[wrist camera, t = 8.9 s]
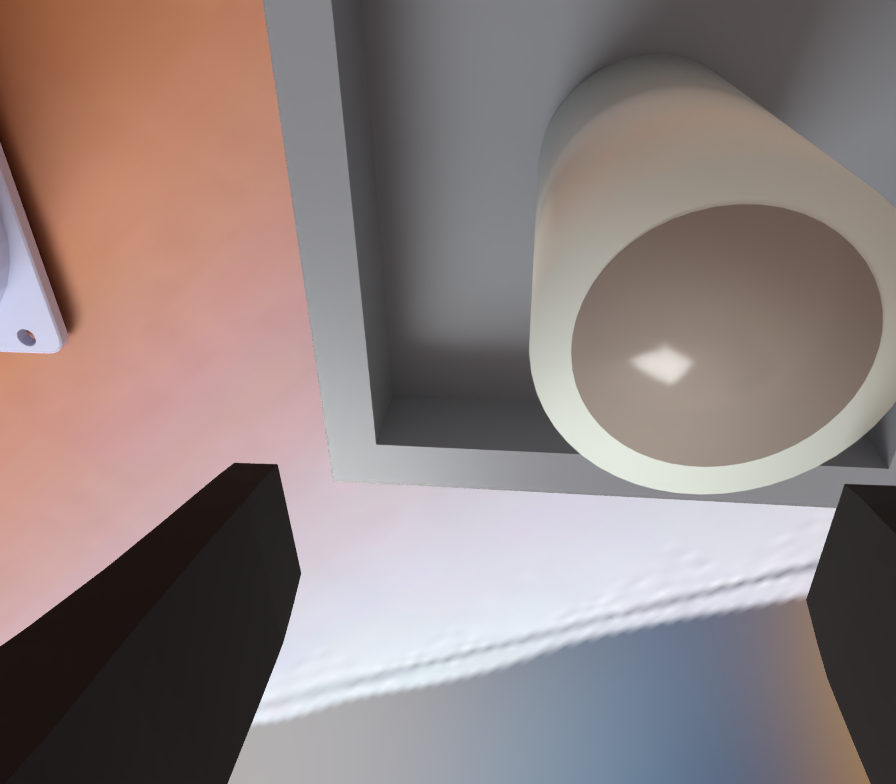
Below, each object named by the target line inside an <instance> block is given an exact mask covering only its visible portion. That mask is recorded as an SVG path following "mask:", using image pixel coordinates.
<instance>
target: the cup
mask: <svg viewBox="0 0 896 784" xmlns="http://www.w3.org/2000/svg"><path fill="white" fill-rule="evenodd" d="M529 357H530V366H531V374H532V378H533V381H534V385H535V389H536V392H537V395H538V397H539V399H540V402H541V404H542V406H543V409H544V411H545V412H546V414H547V416H548V417H549V419H550V420H551V422H552V424H553V425H554V427H555V428H556V429H557V430H558V432H559V433H560V434H561V435H562V436H563V438H564V439H565V440H566V441H567V442H568V443H569V444H570V445H571V446H572V447H573V448H574V449H575V450H576V451H578V452H579V453H580V454H581V455H582V456H583V457H585V458H586V459H588V460H589V461H591V462H592V463H593V464H595V465H596V466H598V467H599V468H601V469H603V470H605V471H607V472H609V473H611V474H613V475H615V476H616V477H619V478H621V479H624V480H627V481H629V482H632V483H634V484H637V485H641V486H645V487H648V488H652V489H656V490H662V491H668V492H674V493H684V494H724V493H732V492H739V491H747V490H751V489H755V488H760V487H764V486H768V485H772V484H775V483H778V482H781V481H784V480H787V479H790V478H793V477H795V476H797V475H799V474H802V473H804V472H806V471H809V470H811V469H813V468H815V467H817V466H819V465H821V464H822V463H824V462H826V461H828V460H829V459H831V458H833V457H835V456H837V455H838V454H839V453H841V452H842V451H844V450H845V449H846V448H848V447H849V446H851V445H852V444H854V443H855V442H856V441H858V440H859V439H860V438H861V437H862V436H863V435H864V434H866V433H867V432H868V431H869V430H870V429H871V428H873V427H874V426H875V425H876V424H877V423H878V422H879V420H880V419H881V418H882V417H883V416H884V415H885V414H886V413H887V412H888V411H889V410H890V409H891V407H892V406H893V405H894V403H895V402H896V208H895V207H893V206H892V205H891V204H890V203H889V202H888V201H887V200H886V199H885V198H884V197H883V196H882V195H881V194H880V193H878V192H877V191H876V190H874V189H873V188H872V187H870V186H869V185H868V184H866V183H865V182H863V181H862V180H861V179H859V178H858V177H857V176H855V175H854V174H853V173H851V172H850V171H849V170H847V169H846V168H845V167H843V166H842V165H840V164H839V163H838V162H836V161H835V160H834V159H832V158H831V157H830V156H828V155H827V154H826V153H824V152H823V151H821V150H820V149H819V148H817V147H816V146H815V145H813V144H812V143H811V142H809V141H808V140H807V139H805V138H804V137H803V136H801V135H800V134H798V133H797V132H796V131H794V130H793V129H792V128H790V127H789V126H788V125H786V124H785V123H784V122H782V121H781V120H779V119H778V118H777V117H775V116H774V115H773V114H771V113H770V112H769V111H767V110H766V109H765V108H763V107H762V106H761V105H759V104H758V103H756V102H755V101H754V100H752V99H751V98H750V97H748V96H747V95H746V94H744V93H743V92H742V91H740V90H739V89H737V88H736V87H735V86H733V85H732V84H731V83H729V82H728V81H727V80H725V79H724V78H723V77H721V76H720V75H719V74H717V73H716V72H714V71H713V70H711V69H710V68H708V67H707V66H705V65H703V64H700V63H698V62H696V61H694V60H691V59H688V58H684V57H681V56H676V55H668V54H646V55H639V56H633V57H630V58H626V59H623V60H619V61H617V62H615V63H612V64H610V65H608V66H605V67H604V68H602V69H600V70H598V71H597V72H595V73H593V74H592V75H590V76H589V77H588V78H587V79H585V80H584V81H583V82H581V83H580V84H579V85H578V86H577V87H576V88H575V89H574V90H573V91H572V92H571V93H570V94H569V95H568V96H567V97H566V99H565V100H564V101H563V102H562V104H561V105H560V106H559V107H558V109H557V111H556V112H555V114H554V116H553V117H552V119H551V121H550V123H549V125H548V128H547V130H546V132H545V135H544V138H543V141H542V145H541V149H540V155H539V160H538V180H537V200H536V220H535V240H534V260H533V280H532V300H531V320H530V342H529Z"/></svg>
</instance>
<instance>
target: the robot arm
mask: <svg viewBox="0 0 896 784" xmlns="http://www.w3.org/2000/svg"><path fill="white" fill-rule="evenodd" d="M26 330H28V331H30V332H31V333H32V334H33V335H34V336H35V338H36V339H34V338H32V337H31V336H30V335H29V334H28V333H27V331H26ZM67 342H68V333H67V330H66V327H65V324H64V322H63V319H62V316H61V313H60V310H59V307H58V305H57V302H56V299H55V296H54V293H53V290H52V288H51V285H50V282H49V279H48V276H47V273H46V271H45V268H44V265H43V262H42V259H41V256H40V254H39V251H38V248H37V245H36V242H35V239H34V237H33V234H32V231H31V228H30V225H29V222H28V220H27V217H26V214H25V211H24V208H23V205H22V203H21V200H20V197H19V194H18V191H17V188H16V186H15V183H14V180H13V177H12V174H11V171H10V169H9V166H8V163H7V160H6V157H5V154H4V152H3V149H2V146H1V143H0V352H23V353H56V352H58V351H59V350H60V349H61V348H63V347H64V346H65V345H66V344H67ZM300 576H301V571H300V566H299V561H298V557H297V552H296V547H295V543H294V538H293V534H292V529H291V524H290V520H289V515H288V510H287V506H286V501H285V497H284V492H283V487H282V483H281V478H280V473H279V469H278V464H250V463H234V464H232V465H231V466H230V467H228V468H227V469H226V470H225V471H223V472H222V473H221V474H219V475H218V476H217V477H216V478H215V479H213V480H212V481H211V482H210V483H208V484H207V485H206V486H205V487H204V488H202V489H201V490H200V491H199V492H198V493H196V494H195V495H194V496H193V497H192V498H190V499H189V500H188V501H187V502H186V503H184V504H183V505H182V506H181V507H180V508H179V509H177V510H176V511H175V512H174V513H173V514H171V515H170V516H169V517H168V518H167V519H165V520H164V521H163V522H162V523H161V524H159V525H158V526H157V527H156V528H154V529H153V530H152V531H151V532H150V533H148V534H147V535H146V536H145V537H143V538H142V539H141V540H140V541H139V542H137V543H136V544H135V545H134V546H132V547H131V548H130V549H129V550H128V551H126V552H125V553H124V554H123V555H121V556H120V557H119V558H118V559H117V560H115V561H114V562H113V563H112V564H110V565H109V566H108V567H107V568H105V569H104V570H103V571H101V572H100V573H99V574H97V575H96V576H95V577H94V578H92V579H91V580H90V581H88V582H87V583H86V584H84V585H83V586H82V587H80V588H79V589H78V590H76V591H75V592H74V593H72V594H71V595H70V596H68V597H67V598H66V599H64V600H63V601H62V602H60V603H59V604H58V605H56V606H55V607H54V608H52V609H51V610H50V611H48V612H47V613H46V614H45V615H43V616H42V617H41V618H39V619H38V620H37V621H35V622H34V623H33V624H31V625H30V626H29V627H27V628H26V629H24V630H23V631H22V632H20V633H19V634H17V635H16V636H15V637H13V638H12V639H10V640H9V641H7V642H6V643H5V644H3V645H2V646H0V784H227V783H228V781H229V778H230V776H231V773H232V771H233V768H234V766H235V763H236V761H237V758H238V756H239V753H240V751H241V748H242V746H243V743H244V741H245V738H246V736H247V733H248V731H249V728H250V726H251V723H252V721H253V718H254V716H255V713H256V711H257V708H258V706H259V703H260V701H261V698H262V696H263V693H264V691H265V688H266V686H267V683H268V681H269V678H270V676H271V673H272V670H273V668H274V665H275V663H276V660H277V658H278V655H279V652H280V650H281V647H282V644H283V641H284V638H285V634H286V630H287V627H288V623H289V619H290V616H291V612H292V608H293V604H294V600H295V596H296V592H297V588H298V584H299V580H300ZM806 600H807V604H808V608H809V612H810V616H811V620H812V624H813V628H814V632H815V636H816V640H817V643H818V647H819V650H820V654H821V657H822V661H823V664H824V668H825V671H826V675H827V678H828V680H829V683H830V686H831V688H832V691H833V693H834V696H835V698H836V701H837V703H838V706H839V708H840V710H841V713H842V715H843V718H844V720H845V723H846V725H847V728H848V730H849V733H850V735H851V737H852V740H853V742H854V745H855V747H856V749H857V752H858V754H859V757H860V759H861V762H862V764H863V766H864V769H865V771H866V773H867V776H868V778H869V781H870V783H871V784H896V486H892V485H863V484H844V487H843V490H842V493H841V496H840V499H839V502H838V505H837V508H836V511H835V514H834V517H833V520H832V523H831V527H830V530H829V533H828V536H827V539H826V542H825V545H824V548H823V551H822V554H821V557H820V560H819V563H818V566H817V569H816V572H815V575H814V578H813V581H812V584H811V587H810V590H809V593H808V596H807V599H806Z"/></svg>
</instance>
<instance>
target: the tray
mask: <svg viewBox="0 0 896 784" xmlns="http://www.w3.org/2000/svg"><path fill="white" fill-rule="evenodd" d="M263 4H264V11H265V18H266V25H267V32H268V39H269V45H270V52H271V59H272V66H273V73H274V80H275V87H276V93H277V100H278V107H279V114H280V121H281V128H282V134H283V141H284V148H285V155H286V162H287V169H288V176H289V182H290V189H291V196H292V203H293V210H294V217H295V224H296V230H297V237H298V244H299V251H300V258H301V265H302V271H303V278H304V285H305V292H306V299H307V306H308V313H309V319H310V326H311V333H312V340H313V347H314V354H315V361H316V367H317V374H318V381H319V388H320V395H321V402H322V408H323V415H324V422H325V429H326V436H327V443H328V450H329V456H330V463H331V470H332V477H333V481H342V482H361V483H380V484H398V485H417V486H436V487H455V488H473V489H492V490H511V491H529V492H548V493H567V494H585V495H604V496H623V497H642V498H660V499H679V500H698V501H716V502H735V503H754V504H772V505H791V506H810V507H829V508H837V505H838V502H839V499H840V496H841V493H842V490H843V487H844V484H863V485H892V486H896V402H895V403H894V405H893V406H892V407H891V409H890V410H889V411H888V412H887V413H886V414H885V415H884V416H883V417H882V418H881V419H880V420H879V422H878V423H877V424H876V425H875V426H874V427H873V428H871V429H870V430H869V431H868V432H867V433H866V434H864V435H863V436H862V437H861V438H860V439H859V440H858V441H856V442H855V443H854V444H852V445H851V446H849V447H848V448H846V449H845V450H844V451H842V452H841V453H839V454H838V455H837V456H835V457H833V458H831V459H829V460H828V461H826V462H824V463H822V464H821V465H819V466H817V467H815V468H813V469H811V470H809V471H806V472H804V473H802V474H799V475H797V476H795V477H793V478H790V479H787V480H784V481H781V482H778V483H775V484H772V485H768V486H764V487H760V488H755V489H751V490H747V491H739V492H732V493H724V494H684V493H674V492H668V491H662V490H656V489H652V488H648V487H645V486H641V485H637V484H634V483H632V482H629V481H627V480H624V479H621V478H619V477H616V476H615V475H613V474H611V473H609V472H607V471H605V470H603V469H601V468H599V467H598V466H596V465H595V464H593V463H592V462H591V461H589V460H588V459H586V458H585V457H583V456H582V455H581V454H580V453H579V452H578V451H576V450H575V449H574V448H573V447H572V446H571V445H570V444H569V443H568V442H567V441H566V440H565V439H564V438H563V436H562V435H561V434H560V433H559V432H558V430H557V429H556V428H555V427H554V425H553V424H552V422H551V420H550V419H549V417H548V416H547V414H546V412H545V411H544V409H543V406H542V404H541V402H540V399H539V397H538V395H537V392H536V389H535V385H534V381H533V378H532V374H531V366H530V357H529V342H530V320H531V300H532V280H533V260H534V240H535V220H536V200H537V180H538V160H539V155H540V149H541V145H542V141H543V138H544V135H545V132H546V130H547V128H548V125H549V123H550V121H551V119H552V117H553V116H554V114H555V112H556V111H557V109H558V107H559V106H560V105H561V104H562V102H563V101H564V100H565V99H566V97H567V96H568V95H569V94H570V93H571V92H572V91H573V90H574V89H575V88H576V87H577V86H578V85H579V84H580V83H581V82H583V81H584V80H585V79H587V78H588V77H589V76H590V75H592V74H593V73H595V72H597V71H598V70H600V69H602V68H604V67H605V66H608V65H610V64H612V63H615V62H617V61H619V60H623V59H626V58H630V57H633V56H639V55H646V54H668V55H676V56H681V57H684V58H688V59H691V60H694V61H696V62H698V63H700V64H703V65H705V66H707V67H708V68H710V69H711V70H713V71H714V72H716V73H717V74H719V75H720V76H721V77H723V78H724V79H725V80H727V81H728V82H729V83H731V84H732V85H733V86H735V87H736V88H737V89H739V90H740V91H742V92H743V93H744V94H746V95H747V96H748V97H750V98H751V99H752V100H754V101H755V102H756V103H758V104H759V105H761V106H762V107H763V108H765V109H766V110H767V111H769V112H770V113H771V114H773V115H774V116H775V117H777V118H778V119H779V120H781V121H782V122H784V123H785V124H786V125H788V126H789V127H790V128H792V129H793V130H794V131H796V132H797V133H798V134H800V135H801V136H803V137H804V138H805V139H807V140H808V141H809V142H811V143H812V144H813V145H815V146H816V147H817V148H819V149H820V150H821V151H823V152H824V153H826V154H827V155H828V156H830V157H831V158H832V159H834V160H835V161H836V162H838V163H839V164H840V165H842V166H843V167H845V168H846V169H847V170H849V171H850V172H851V173H853V174H854V175H855V176H857V177H858V178H859V179H861V180H862V181H863V182H865V183H866V184H868V185H869V186H870V187H872V188H873V189H874V190H876V191H877V192H878V193H880V194H881V195H882V196H883V197H884V198H885V199H886V200H887V201H888V202H889V203H890V204H891V205H892V206H893V207H895V208H896V0H263Z"/></svg>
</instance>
